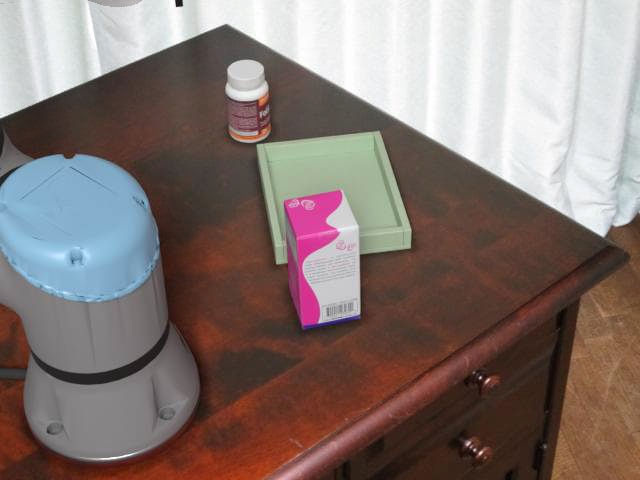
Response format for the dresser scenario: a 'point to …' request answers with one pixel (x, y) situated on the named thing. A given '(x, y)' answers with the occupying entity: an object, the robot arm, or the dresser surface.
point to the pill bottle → (247, 101)
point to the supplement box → (323, 259)
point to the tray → (336, 186)
